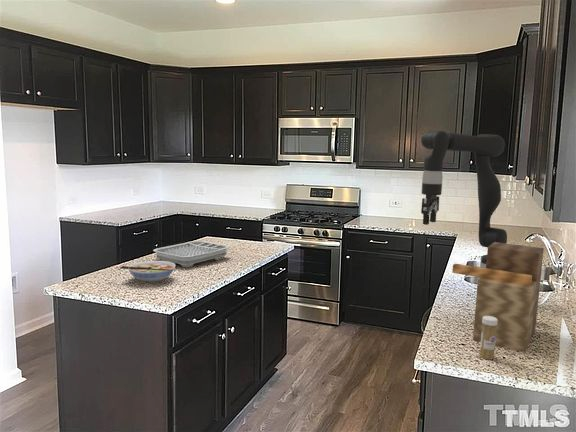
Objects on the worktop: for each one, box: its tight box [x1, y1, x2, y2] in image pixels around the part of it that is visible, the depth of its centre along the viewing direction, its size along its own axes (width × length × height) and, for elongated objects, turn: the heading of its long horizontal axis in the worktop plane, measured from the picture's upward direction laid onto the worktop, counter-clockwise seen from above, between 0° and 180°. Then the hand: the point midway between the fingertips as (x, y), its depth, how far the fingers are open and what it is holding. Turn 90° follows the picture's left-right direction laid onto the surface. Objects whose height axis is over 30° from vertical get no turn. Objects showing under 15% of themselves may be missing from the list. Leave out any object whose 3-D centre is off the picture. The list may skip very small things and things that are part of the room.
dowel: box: [451, 263, 532, 286], centre depth 169 cm, size 26×3×3 cm, turn 56°
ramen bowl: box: [119, 260, 177, 284], centre depth 232 cm, size 25×23×8 cm
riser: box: [472, 242, 545, 353], centre depth 172 cm, size 17×24×32 cm
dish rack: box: [153, 240, 230, 268], centre depth 276 cm, size 32×37×8 cm
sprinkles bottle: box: [478, 316, 498, 360], centre depth 154 cm, size 5×5×14 cm
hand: (429, 223), depth 188 cm, fingers open, 8 cm apart
